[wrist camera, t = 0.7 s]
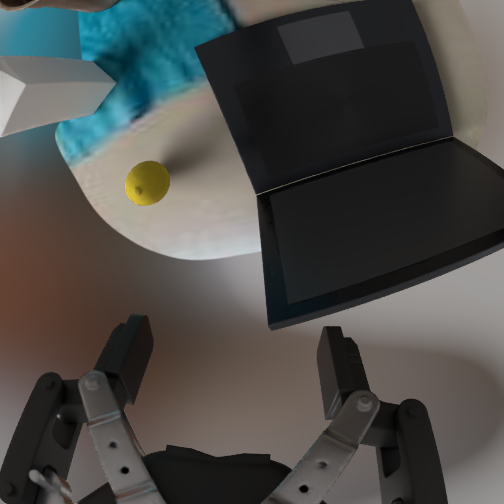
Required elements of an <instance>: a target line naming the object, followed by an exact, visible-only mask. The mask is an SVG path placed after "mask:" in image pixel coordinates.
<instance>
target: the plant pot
mask: <svg viewBox="0 0 504 504" xmlns="http://www.w3.org/2000/svg"><path fill="white" fill-rule="evenodd" d="M117 1H119V0H0V8H2V9H3V10H6V11H19V10H23V9H25V8H41V7H54V8H63V9H70V10H77V11H82V12H98V11H102V10H105V9H108V8H110V7H112V6H113V5H114V4H115V3H116V2H117Z"/></svg>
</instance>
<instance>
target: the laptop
mask: <svg viewBox="0 0 504 504" xmlns="http://www.w3.org/2000/svg"><path fill="white" fill-rule="evenodd" d="M194 48H195V51H196V53H197V55H198V58H199V60H200V62H201V64H202V67H203V69H204V71H205V74H206V76H207V78H208V80H209V83H210V85H211V87H212V90H213V92H214V94H215V97H216V99H217V101H218V104H219V106H220V108H221V111H222V113H223V116H224V118H225V120H226V123H227V125H228V128H229V130H230V132H231V135H232V137H233V140H234V142H235V144H236V147H237V149H238V152H239V154H240V156H241V159H242V161H243V164H244V166H245V169H246V171H247V174H248V176H249V179H250V181H251V184H252V186H253V189H254V191H255V194H259V193H262V192H265V191H268V190H270V189H273V188H276V187H279V186H282V185H285V184H288V183H291V182H294V181H297V180H300V179H303V178H306V177H309V176H312V175H316V174H319V173H322V172H325V171H328V170H331V169H335V168H338V167H341V166H344V165H348V164H351V163H354V162H358V161H361V160H364V159H368V158H371V157H375V156H378V155H382V154H385V153H389V152H392V151H396V150H399V149H403V148H407V147H411V146H414V145H418V144H422V143H426V142H430V141H434V140H437V139H441V138H446V137H450V136H453V131H452V126H451V121H450V116H449V111H448V107H447V103H446V99H445V95H444V91H443V87H442V83H441V80H440V76H439V73H438V69H437V66H436V63H435V60H434V57H433V54H432V51H431V48H430V45H429V42H428V40H427V37H426V34H425V32H424V29H423V27H422V24H421V22H420V19H419V17H418V15H417V12H416V10H415V8H414V5H413V3H412V1H411V0H365V1H357V2H349V3H343V4H336V5H331V6H325V7H320V8H315V9H310V10H306V11H301V12H297V13H293V14H289V15H285V16H282V17H278V18H274V19H271V20H267V21H264V22H261V23H258V24H255V25H251V26H248V27H245V28H243V29H240V30H237V31H234V32H231V33H229V34H226V35H223V36H221V37H218V38H216V39H213V40H211V41H208V42H206V43H203V44H201V45H199V46H196V47H194Z"/></svg>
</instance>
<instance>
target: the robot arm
mask: <svg viewBox="0 0 504 504" xmlns="http://www.w3.org/2000/svg"><path fill="white" fill-rule="evenodd" d="M153 346H154V339H153V335H152V331H151V327H150V322H149V318H148V316H147V315H139V314H131V315H130V317H129V319H128V321H127V322H126V324H124V323H121V324H120V325H118V326H117V327H116V328H115V329H114V330H113V332H112V333H111V335H110V337H109V340H108V341H107V343H106V346H105V347H104V349H103V351H102V353H101V355H100V357H99V359H98V361H97V363H96V365H95V367H94V369H93V371H88V372H86V373H85V374H83V375H82V376H81V377H80V379H77V380H62V378H61V377H60V376H59V375H58V374H57V373H54V372H49V373H45V374H43V375H42V376H41V377H40V378H39V379H38V381H37V383H36V385H35V387H34V389H33V391H32V393H31V395H30V397H29V400H28V402H27V404H26V406H25V408H24V411H23V413H22V415H21V418H20V420H19V422H18V425H17V427H16V430H15V432H14V435H13V437H12V440H11V443H10V445H9V448H8V450H7V453H6V456H5V459H4V462H3V465H2V468H1V471H0V498H1V499H2V501H3V502H5V503H7V504H73V502H72V490H71V487H70V485H69V484H68V482H67V481H66V480H67V476H68V472H69V468H70V465H71V461H72V458H73V454H74V450H75V447H76V444H77V441H78V437H79V434H80V431H81V428H82V425H83V423H88V424H87V428H88V431H89V434H90V437H91V439H92V442H93V445H94V448H95V450H96V453H97V455H98V458H99V460H100V463H101V465H102V468H103V470H104V472H105V475H106V477H107V479H108V482H107V483H106V484H104V485H103V486H101V487H100V488H98V489H97V490H95V491H94V492H92V493H91V494H89V495H87V496H86V497H84V498H83V499H81V500H80V501H78V502H76V503H75V504H326V503H325V502H324V501H323V498H324V497H325V496H326V494H327V493H328V492H329V490H330V489H331V487H332V486H333V484H334V483H335V482H336V481H337V479H338V478H339V476H340V475H341V473H342V472H343V471H344V469H345V468H346V466H347V465H348V463H349V461H350V460H351V458H352V457H353V455H354V454H355V452H356V450H357V449H358V446H359V444H365V445H370V446H375V447H376V454H377V463H378V471H379V480H380V489H381V501H382V504H448V500H447V495H446V489H445V483H444V478H443V473H442V468H441V464H440V459H439V455H438V450H437V446H436V442H435V438H434V434H433V431H432V426H431V423H430V419H429V416H428V412H427V409H426V407H425V405H424V404H423V403H422V402H420V401H418V400H416V399H406V400H404V401H403V402H401V404H400V405H397V404H392V403H386V402H383V401H380V400H379V399H378V397H377V396H376V395H375V394H373V393H372V392H371V391H370V388H369V384H368V381H367V378H366V374H365V370H364V367H363V364H362V360H361V357H360V353H359V349H358V346H357V344H356V343H355V342H354V341H353V340H352V338H350V337H347V338H344V337H343V333H342V329H341V327H340V326H324V327H323V330H322V334H321V338H320V341H319V345H318V349H317V365H318V372H319V378H320V385H321V392H322V399H323V406H324V413H325V420H332V419H333V421H332V422H331V423H330V425H329V426H328V428H327V429H326V430H324V431H323V433H322V434H321V435H320V436H319V438H318V439H317V440H316V442H315V443H314V444H313V445H312V447H311V448H310V449H309V451H308V452H307V453H306V454H305V455H304V457H303V458H302V459H301V460H300V462H299V463H298V464H297V465H296V466H295V467H294V469H293V470H292V469H291V468H289V467H287V466H286V465H284V464H281V463H279V462H276V461H273V460H270V454H247V453H243V454H237V455H231V456H223V457H214V456H211V455H208V454H205V453H203V452H200V451H197V450H194V449H192V448H184V447H177V446H171V445H167V447H166V451H158V452H154V453H151V454H148V455H146V454H145V452H144V450H143V448H142V447H141V445H140V443H139V441H138V439H137V437H136V435H135V433H134V431H133V429H132V427H131V425H130V423H129V421H128V418H127V416H126V414H125V411H124V407H125V404H126V403H127V404H132V405H134V403H135V399H136V397H137V394H138V391H139V388H140V385H141V382H142V379H143V376H144V373H145V371H146V367H147V365H148V362H149V359H150V357H151V353H152V351H153Z"/></svg>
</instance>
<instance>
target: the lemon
mask: <svg viewBox="0 0 504 504" xmlns="http://www.w3.org/2000/svg"><path fill="white" fill-rule="evenodd" d="M169 186H170V176H169V173H168V171H167V169H166V168H165V167H164V166H163V165H162V164H160V163H158V162H155V161H145V162H142V163H139V164H138V165H136V166H135V167H134V168H133V169H132V170H131V171H130V173H129V174H128V176H127V178H126V182H125V190H126V193H127V195H128V197H129V199H130V200H131V201H132V202H134V203H135V204H138V205H142V206H147V205H152V204H154V203H156V202H158V201H160V200H161V199H162V198H163V197H164V196H165V194H166V193H167V191H168V189H169Z"/></svg>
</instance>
